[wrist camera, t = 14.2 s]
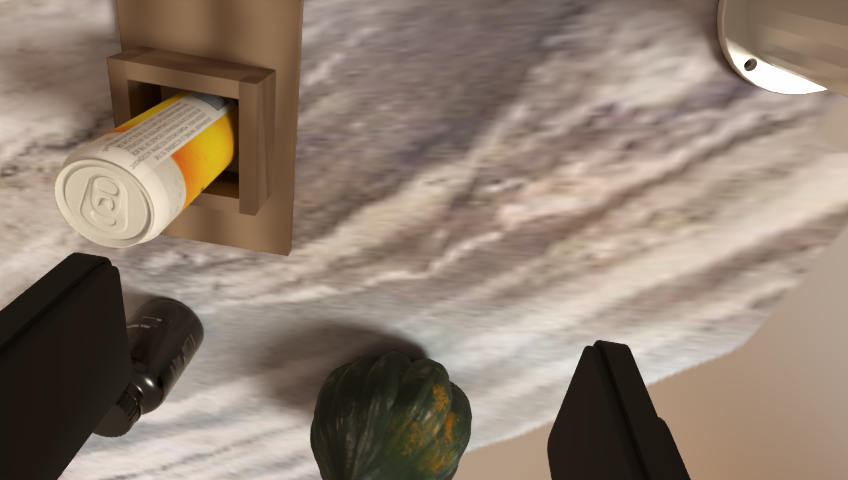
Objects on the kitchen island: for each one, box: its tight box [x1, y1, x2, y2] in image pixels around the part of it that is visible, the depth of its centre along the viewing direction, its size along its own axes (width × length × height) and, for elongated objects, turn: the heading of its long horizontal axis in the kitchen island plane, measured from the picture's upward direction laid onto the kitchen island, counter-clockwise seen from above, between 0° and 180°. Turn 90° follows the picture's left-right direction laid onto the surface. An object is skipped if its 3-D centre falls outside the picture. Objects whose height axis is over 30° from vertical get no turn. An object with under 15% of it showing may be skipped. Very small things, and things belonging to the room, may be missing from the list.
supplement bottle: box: [93, 299, 204, 437], centre depth 49 cm, size 7×7×12 cm
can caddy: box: [107, 0, 303, 256], centre depth 41 cm, size 13×22×6 cm, turn 171°
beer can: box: [54, 90, 239, 248], centre depth 36 cm, size 6×6×15 cm
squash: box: [310, 351, 472, 480], centre depth 51 cm, size 14×15×15 cm
